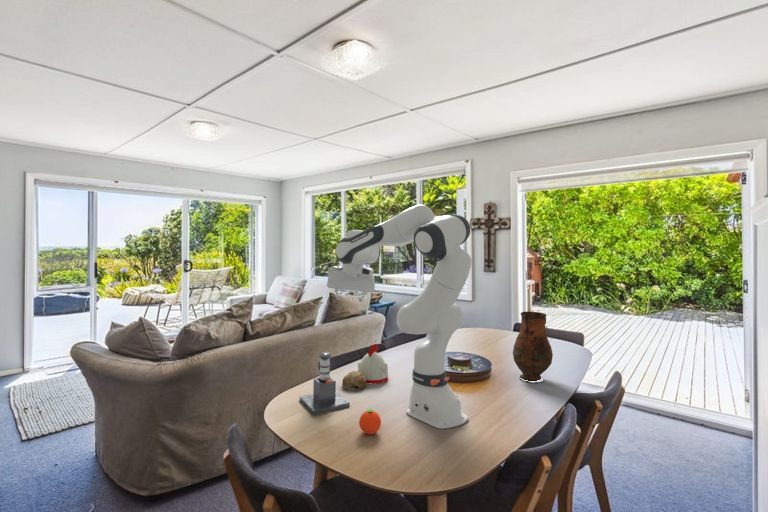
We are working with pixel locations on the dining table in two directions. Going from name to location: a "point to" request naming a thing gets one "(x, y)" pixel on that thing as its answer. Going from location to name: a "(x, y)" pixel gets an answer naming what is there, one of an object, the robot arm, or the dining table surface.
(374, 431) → the clementine
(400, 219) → the robot arm
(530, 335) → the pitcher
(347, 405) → the stand base
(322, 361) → the column
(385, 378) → the kitchen timer
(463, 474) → the dining table surface
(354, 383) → the bread roll
